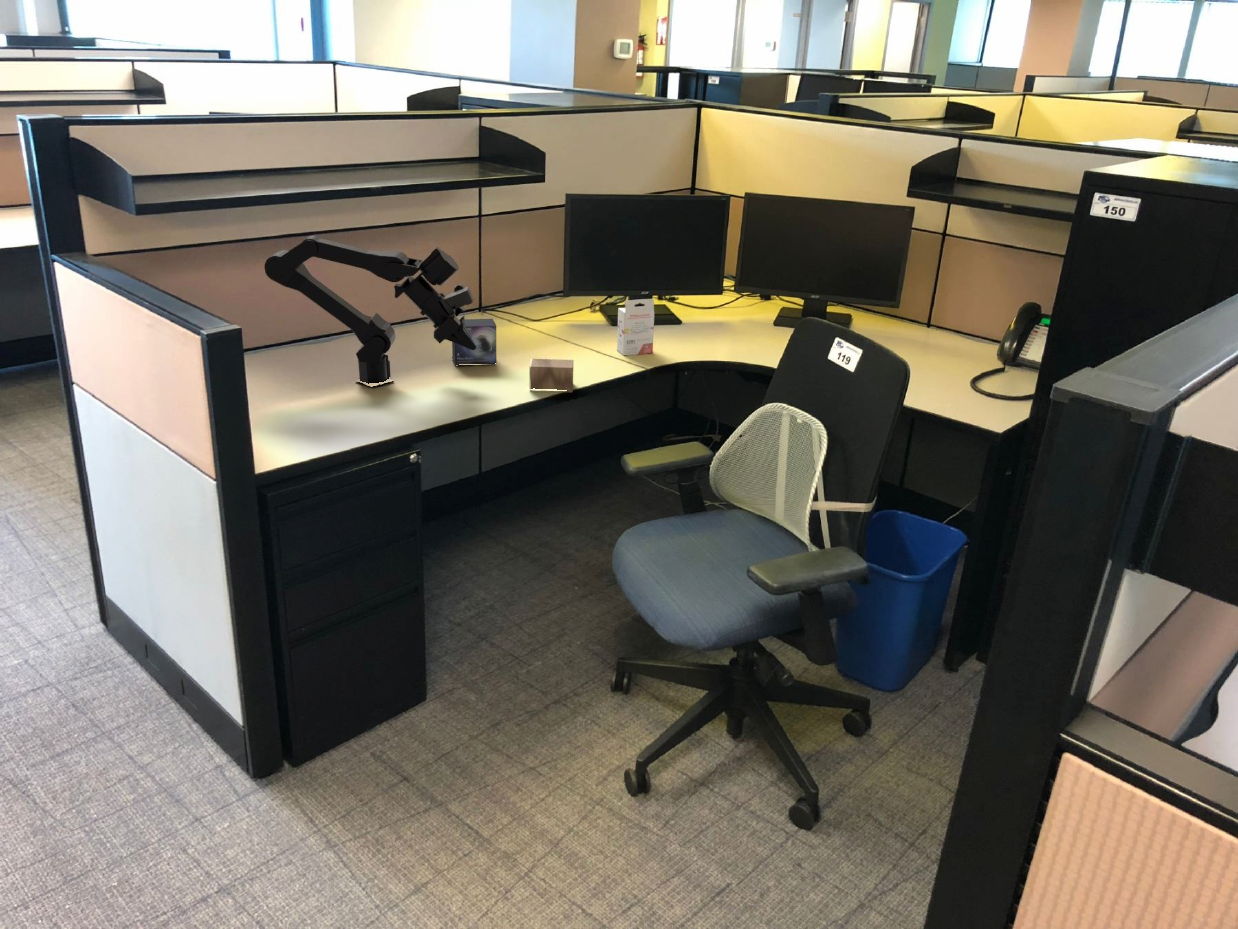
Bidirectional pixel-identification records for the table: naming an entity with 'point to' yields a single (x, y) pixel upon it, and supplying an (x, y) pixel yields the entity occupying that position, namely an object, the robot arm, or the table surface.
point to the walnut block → (551, 374)
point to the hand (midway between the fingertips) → (475, 348)
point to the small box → (477, 343)
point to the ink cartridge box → (636, 327)
